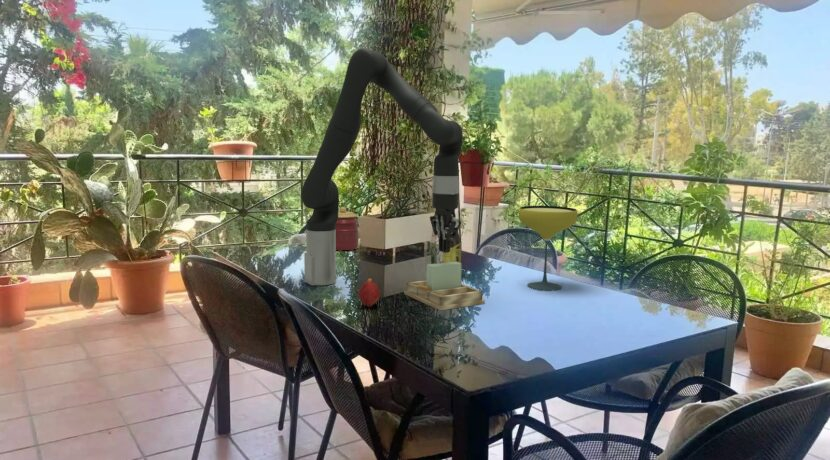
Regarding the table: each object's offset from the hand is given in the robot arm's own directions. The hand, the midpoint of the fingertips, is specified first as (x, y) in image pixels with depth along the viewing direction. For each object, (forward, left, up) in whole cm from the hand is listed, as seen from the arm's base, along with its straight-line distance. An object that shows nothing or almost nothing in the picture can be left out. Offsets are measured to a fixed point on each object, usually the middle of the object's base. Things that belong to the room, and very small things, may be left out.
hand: (444, 251), depth 178 cm
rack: (0, 0, -14) cm, 14 cm away
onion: (-23, +2, -14) cm, 27 cm away
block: (0, 0, -13) cm, 13 cm away
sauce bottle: (+18, +23, -14) cm, 32 cm away
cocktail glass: (+37, -2, -14) cm, 40 cm away
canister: (+7, +89, -14) cm, 90 cm away
